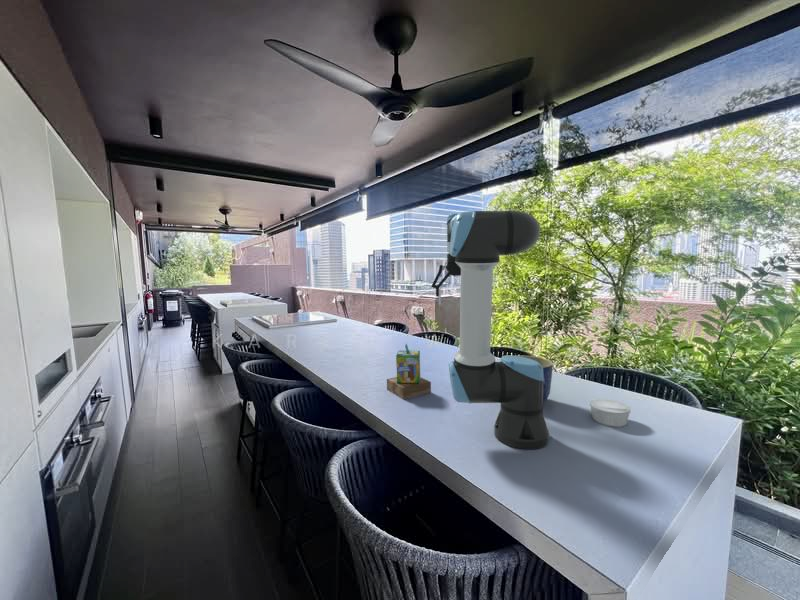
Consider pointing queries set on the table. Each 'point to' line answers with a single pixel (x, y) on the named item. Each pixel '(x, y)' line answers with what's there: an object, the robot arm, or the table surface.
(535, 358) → the planter
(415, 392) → the walnut base block
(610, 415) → the ramekin
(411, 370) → the chalk box
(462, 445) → the table surface
